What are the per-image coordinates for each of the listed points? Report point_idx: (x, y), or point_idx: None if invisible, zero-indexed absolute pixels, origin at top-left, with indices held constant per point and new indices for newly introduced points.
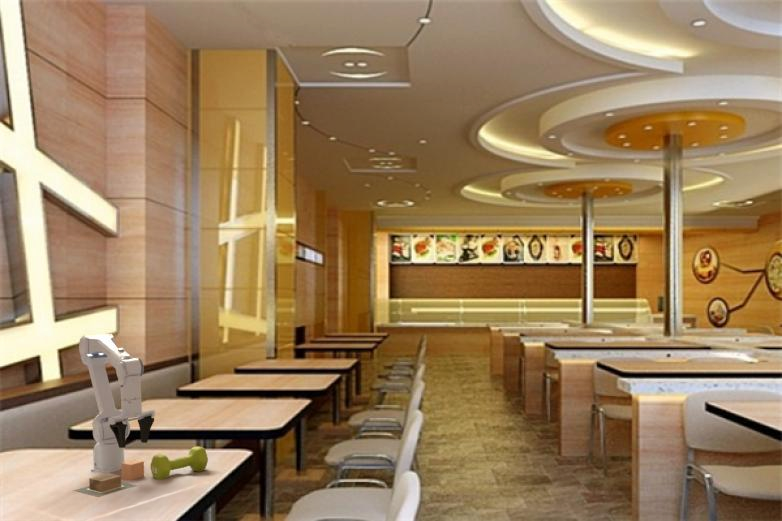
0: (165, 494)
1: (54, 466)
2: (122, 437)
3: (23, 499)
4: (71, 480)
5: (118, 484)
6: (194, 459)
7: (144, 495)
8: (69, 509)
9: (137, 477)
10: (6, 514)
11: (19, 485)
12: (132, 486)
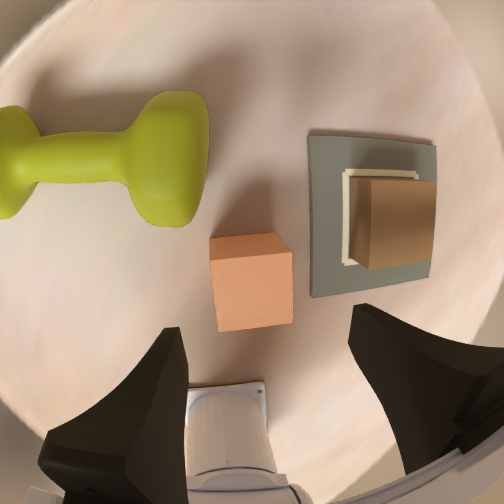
0: None
1: None
2: (419, 329)
3: (472, 313)
4: (350, 392)
5: (365, 178)
6: (23, 131)
7: (341, 38)
8: (483, 145)
9: (243, 237)
10: None
11: None
12: (327, 137)
